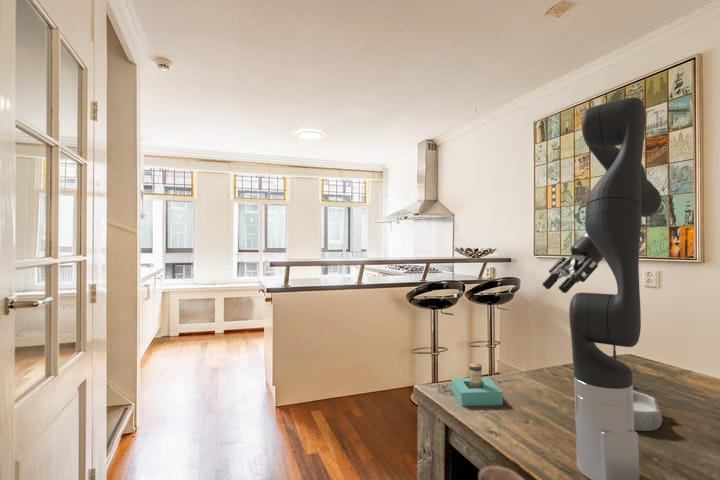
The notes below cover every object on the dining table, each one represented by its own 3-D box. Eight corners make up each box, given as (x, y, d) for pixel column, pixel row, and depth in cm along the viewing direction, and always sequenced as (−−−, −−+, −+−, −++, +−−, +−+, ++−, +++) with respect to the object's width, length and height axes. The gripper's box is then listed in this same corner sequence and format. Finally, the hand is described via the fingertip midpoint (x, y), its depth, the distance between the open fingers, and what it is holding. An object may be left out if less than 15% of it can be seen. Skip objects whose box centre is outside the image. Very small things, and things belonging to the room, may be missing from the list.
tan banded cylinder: (484, 399, 105) (483, 366, 105) (472, 399, 105) (471, 366, 105) (480, 394, 108) (479, 363, 108) (468, 395, 108) (467, 363, 108)
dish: (648, 410, 96) (648, 390, 96) (678, 437, 83) (677, 414, 83) (584, 405, 100) (584, 386, 100) (603, 430, 87) (602, 408, 87)
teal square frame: (502, 404, 101) (502, 391, 101) (461, 406, 101) (461, 392, 101) (488, 389, 112) (488, 377, 112) (451, 390, 112) (451, 378, 112)
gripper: (569, 235, 108) (530, 277, 108) (601, 234, 94) (556, 281, 94) (588, 254, 108) (549, 295, 108) (623, 255, 94) (578, 302, 94)
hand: (552, 288), depth 101 cm, fingers open, 8 cm apart
